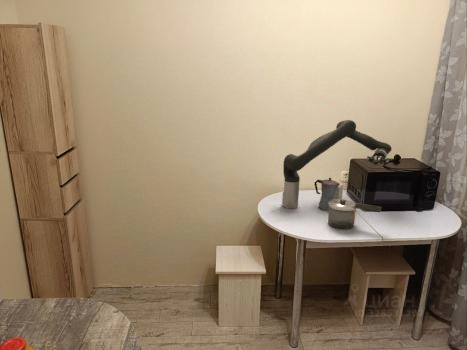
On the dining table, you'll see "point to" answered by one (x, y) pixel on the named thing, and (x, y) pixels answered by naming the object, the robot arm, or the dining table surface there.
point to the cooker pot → (341, 219)
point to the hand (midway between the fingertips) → (375, 163)
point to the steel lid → (351, 205)
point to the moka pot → (326, 192)
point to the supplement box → (338, 192)
